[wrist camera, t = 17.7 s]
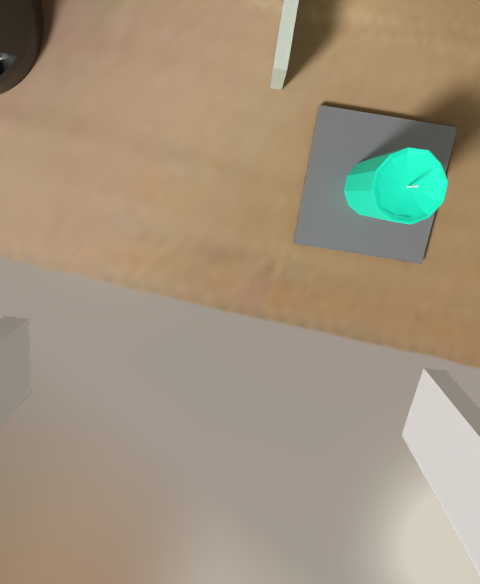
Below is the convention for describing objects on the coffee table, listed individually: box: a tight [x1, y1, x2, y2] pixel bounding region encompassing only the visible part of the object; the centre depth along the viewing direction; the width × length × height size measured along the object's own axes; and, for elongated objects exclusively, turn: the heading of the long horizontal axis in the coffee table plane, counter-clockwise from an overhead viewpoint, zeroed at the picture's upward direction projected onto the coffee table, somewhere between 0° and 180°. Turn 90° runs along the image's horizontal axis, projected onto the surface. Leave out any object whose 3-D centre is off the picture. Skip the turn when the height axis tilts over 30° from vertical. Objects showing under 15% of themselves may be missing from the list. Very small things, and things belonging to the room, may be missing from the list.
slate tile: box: [293, 105, 458, 264], centre depth 44 cm, size 14×14×1 cm
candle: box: [344, 148, 448, 225], centre depth 37 cm, size 6×6×12 cm
